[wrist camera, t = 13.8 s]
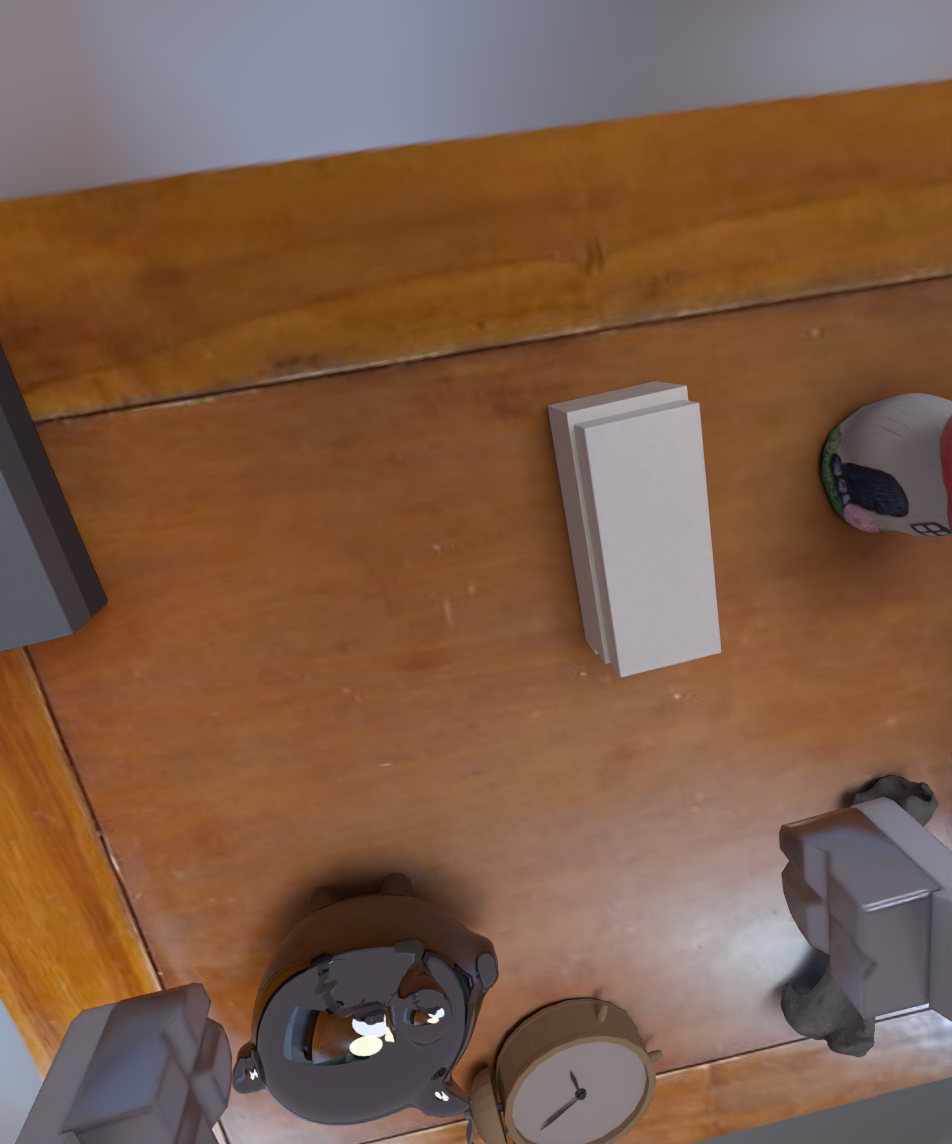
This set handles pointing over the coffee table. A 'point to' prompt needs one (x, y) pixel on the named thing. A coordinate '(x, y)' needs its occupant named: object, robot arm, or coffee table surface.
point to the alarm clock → (566, 1079)
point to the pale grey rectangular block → (651, 535)
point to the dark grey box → (37, 537)
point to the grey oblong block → (573, 490)
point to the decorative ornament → (893, 466)
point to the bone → (827, 1003)
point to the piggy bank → (367, 1009)
